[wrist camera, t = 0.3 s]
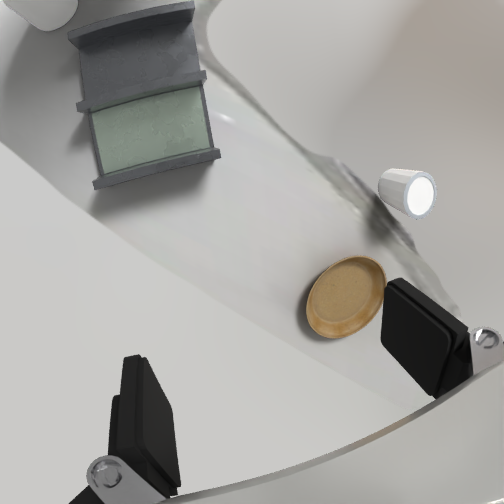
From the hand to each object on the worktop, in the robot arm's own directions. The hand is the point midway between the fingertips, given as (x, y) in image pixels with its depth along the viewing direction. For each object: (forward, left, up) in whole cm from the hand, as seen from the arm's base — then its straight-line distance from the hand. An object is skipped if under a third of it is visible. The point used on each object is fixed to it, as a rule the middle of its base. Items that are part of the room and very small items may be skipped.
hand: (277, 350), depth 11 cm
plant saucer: (+20, +19, -31) cm, 42 cm away
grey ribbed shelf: (-14, -4, -31) cm, 34 cm away
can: (-30, -14, -31) cm, 45 cm away
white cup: (+4, +29, -31) cm, 42 cm away
